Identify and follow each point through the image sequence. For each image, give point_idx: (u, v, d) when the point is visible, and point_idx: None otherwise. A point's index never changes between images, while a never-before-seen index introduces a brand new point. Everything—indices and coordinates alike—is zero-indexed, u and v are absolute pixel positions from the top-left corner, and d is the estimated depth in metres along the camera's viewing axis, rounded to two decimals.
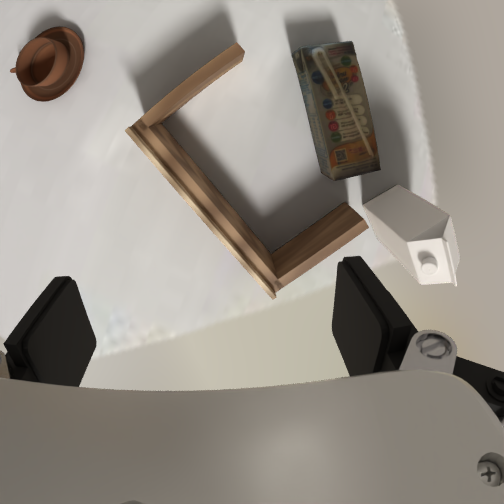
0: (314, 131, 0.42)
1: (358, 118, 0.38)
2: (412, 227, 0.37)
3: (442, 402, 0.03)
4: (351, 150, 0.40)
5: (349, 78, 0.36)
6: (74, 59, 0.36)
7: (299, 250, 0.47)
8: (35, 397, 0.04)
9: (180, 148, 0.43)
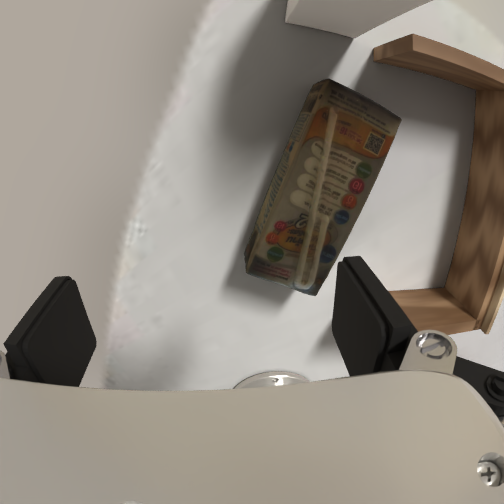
0: None
1: (315, 171, 0.26)
2: None
3: (442, 402, 0.03)
4: (356, 139, 0.24)
5: (288, 229, 0.28)
6: None
7: (473, 80, 0.23)
8: (35, 397, 0.04)
9: (458, 260, 0.35)
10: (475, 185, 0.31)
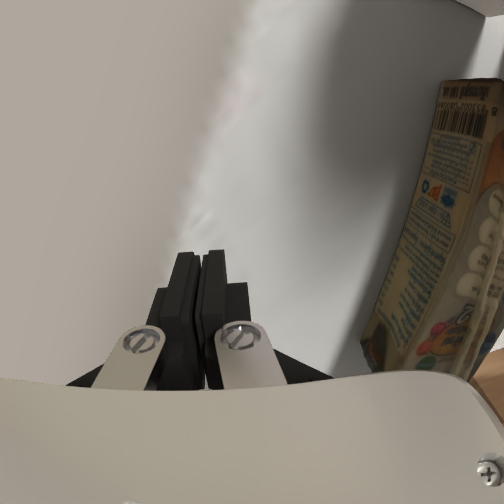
0: None
1: (490, 239, 0.13)
2: None
3: (442, 402, 0.03)
4: None
5: (446, 329, 0.15)
6: None
7: None
8: (35, 397, 0.04)
9: None
10: None
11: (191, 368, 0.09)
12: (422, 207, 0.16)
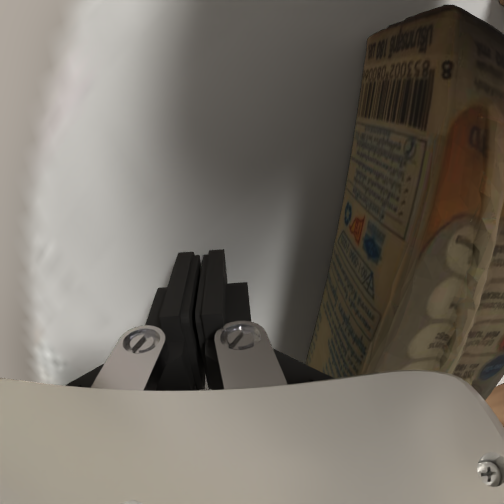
0: None
1: (453, 310, 0.08)
2: None
3: (442, 402, 0.03)
4: None
5: None
6: None
7: None
8: (35, 397, 0.04)
9: None
10: None
11: (191, 368, 0.09)
12: (343, 249, 0.11)
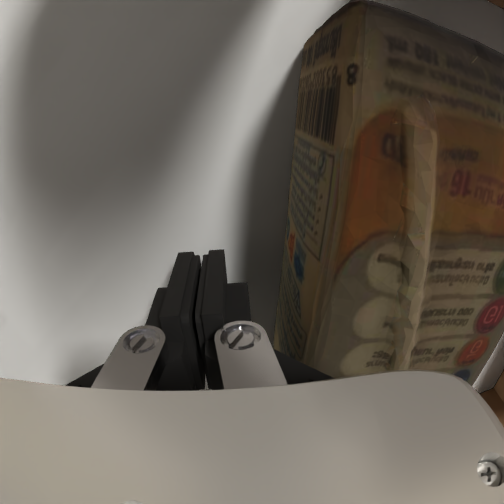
0: None
1: (389, 329, 0.08)
2: None
3: (442, 402, 0.03)
4: (497, 198, 0.06)
5: None
6: None
7: None
8: (35, 397, 0.04)
9: None
10: None
11: (191, 368, 0.09)
12: (285, 263, 0.11)
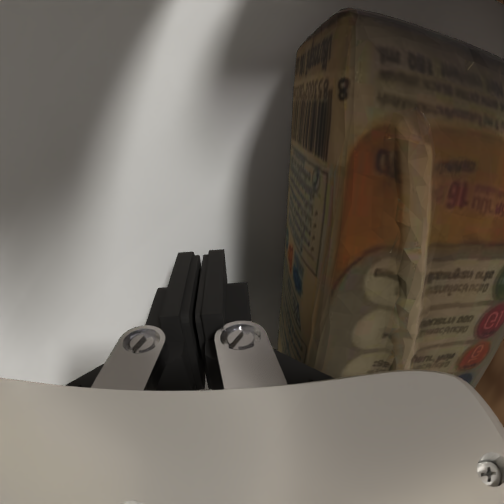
0: None
1: (387, 339, 0.08)
2: None
3: (442, 402, 0.03)
4: (495, 207, 0.06)
5: None
6: None
7: None
8: (35, 397, 0.04)
9: (499, 365, 0.16)
10: None
11: (191, 368, 0.09)
12: (285, 273, 0.11)
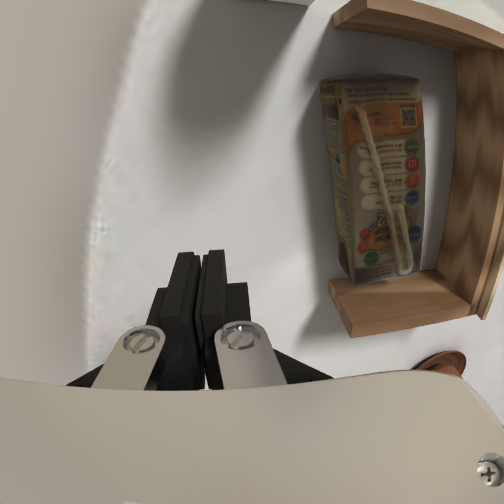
0: None
1: (371, 171, 0.24)
2: None
3: (442, 402, 0.03)
4: (392, 122, 0.22)
5: (372, 232, 0.27)
6: (422, 367, 0.43)
7: (448, 39, 0.20)
8: (35, 397, 0.04)
9: (449, 239, 0.32)
10: (462, 156, 0.28)
11: (191, 368, 0.09)
12: (332, 166, 0.28)
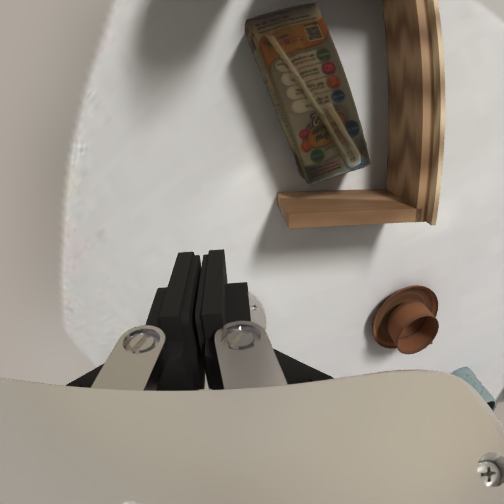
0: None
1: (293, 81, 0.28)
2: None
3: (442, 402, 0.03)
4: (299, 39, 0.26)
5: (311, 132, 0.30)
6: (390, 304, 0.46)
7: None
8: (35, 397, 0.04)
9: (392, 156, 0.36)
10: (393, 78, 0.31)
11: (191, 368, 0.09)
12: (268, 90, 0.32)
